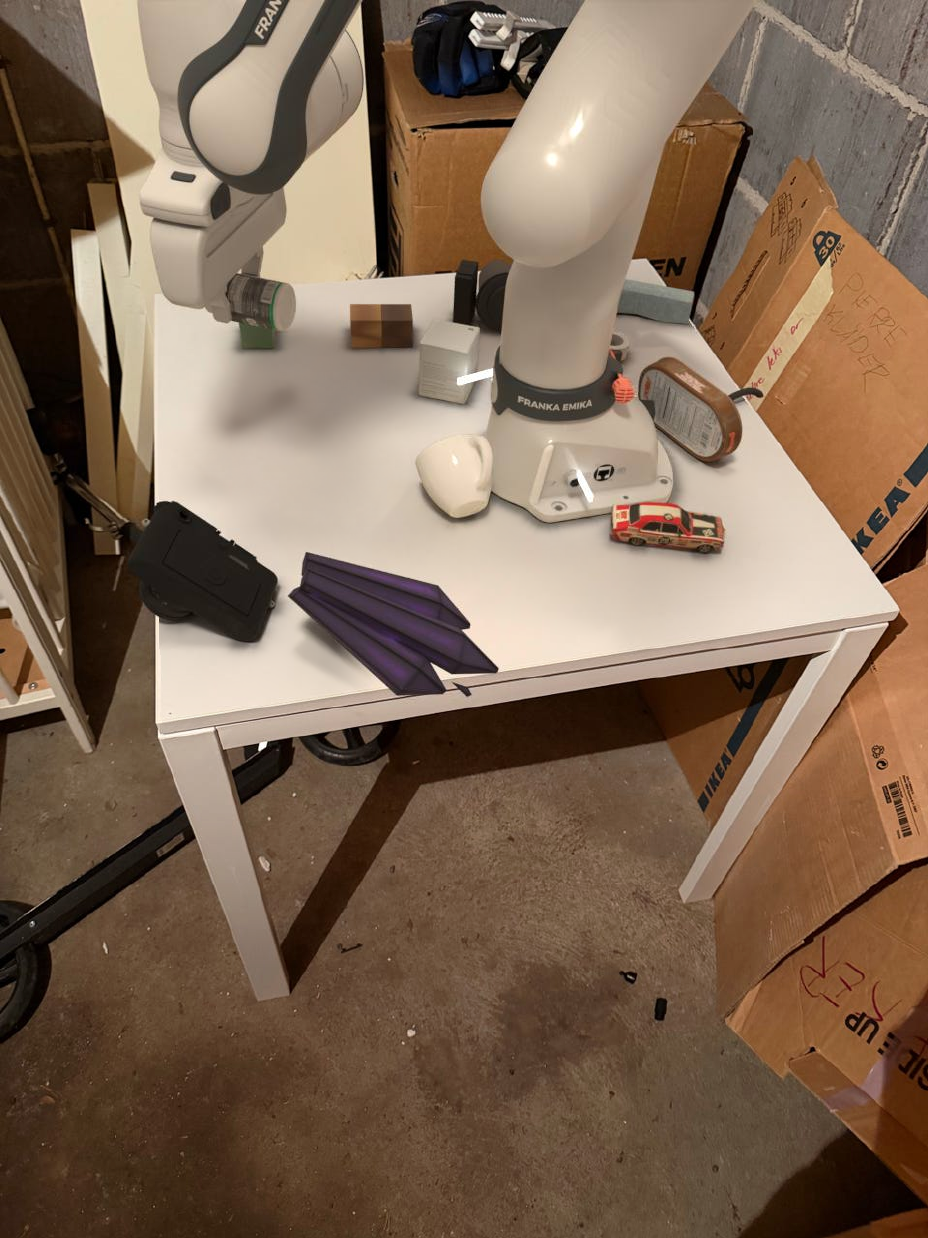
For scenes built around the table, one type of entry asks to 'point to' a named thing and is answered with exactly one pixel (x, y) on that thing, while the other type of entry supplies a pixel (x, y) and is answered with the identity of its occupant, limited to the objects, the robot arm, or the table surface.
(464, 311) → the ink cartridge
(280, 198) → the robot arm
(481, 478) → the cup
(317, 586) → the crystal
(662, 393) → the tin
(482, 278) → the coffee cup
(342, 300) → the table surface
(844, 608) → the table surface
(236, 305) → the pill bottle
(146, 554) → the camera
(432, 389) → the product box
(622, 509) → the race car
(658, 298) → the light blue foam bar
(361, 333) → the block beech
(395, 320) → the block walnut
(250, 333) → the block sage
